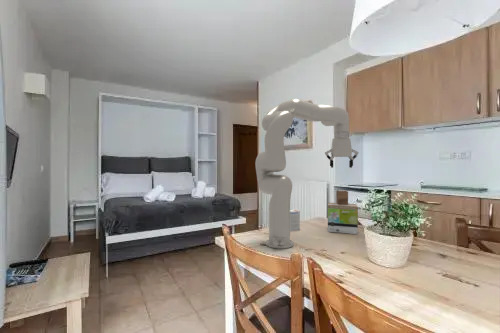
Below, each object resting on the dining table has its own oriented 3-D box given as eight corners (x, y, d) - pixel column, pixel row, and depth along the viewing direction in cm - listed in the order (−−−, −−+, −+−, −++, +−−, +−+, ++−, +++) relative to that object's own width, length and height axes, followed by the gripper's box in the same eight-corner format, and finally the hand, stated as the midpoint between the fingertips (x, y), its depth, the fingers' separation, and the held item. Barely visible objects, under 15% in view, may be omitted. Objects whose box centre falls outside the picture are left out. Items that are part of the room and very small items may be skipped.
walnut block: (348, 204, 139) (348, 191, 139) (338, 204, 139) (338, 191, 139) (345, 203, 144) (345, 190, 144) (336, 203, 144) (336, 190, 144)
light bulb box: (279, 227, 151) (279, 208, 151) (289, 225, 154) (289, 207, 154) (290, 231, 141) (290, 211, 141) (300, 230, 144) (300, 210, 144)
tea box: (327, 232, 139) (327, 204, 139) (327, 228, 149) (327, 202, 149) (358, 234, 135) (358, 206, 135) (356, 229, 145) (356, 203, 144)
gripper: (356, 136, 144) (356, 167, 144) (324, 136, 146) (323, 167, 147) (360, 134, 137) (360, 167, 137) (325, 135, 139) (325, 167, 139)
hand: (341, 167), depth 142 cm, fingers open, 9 cm apart
